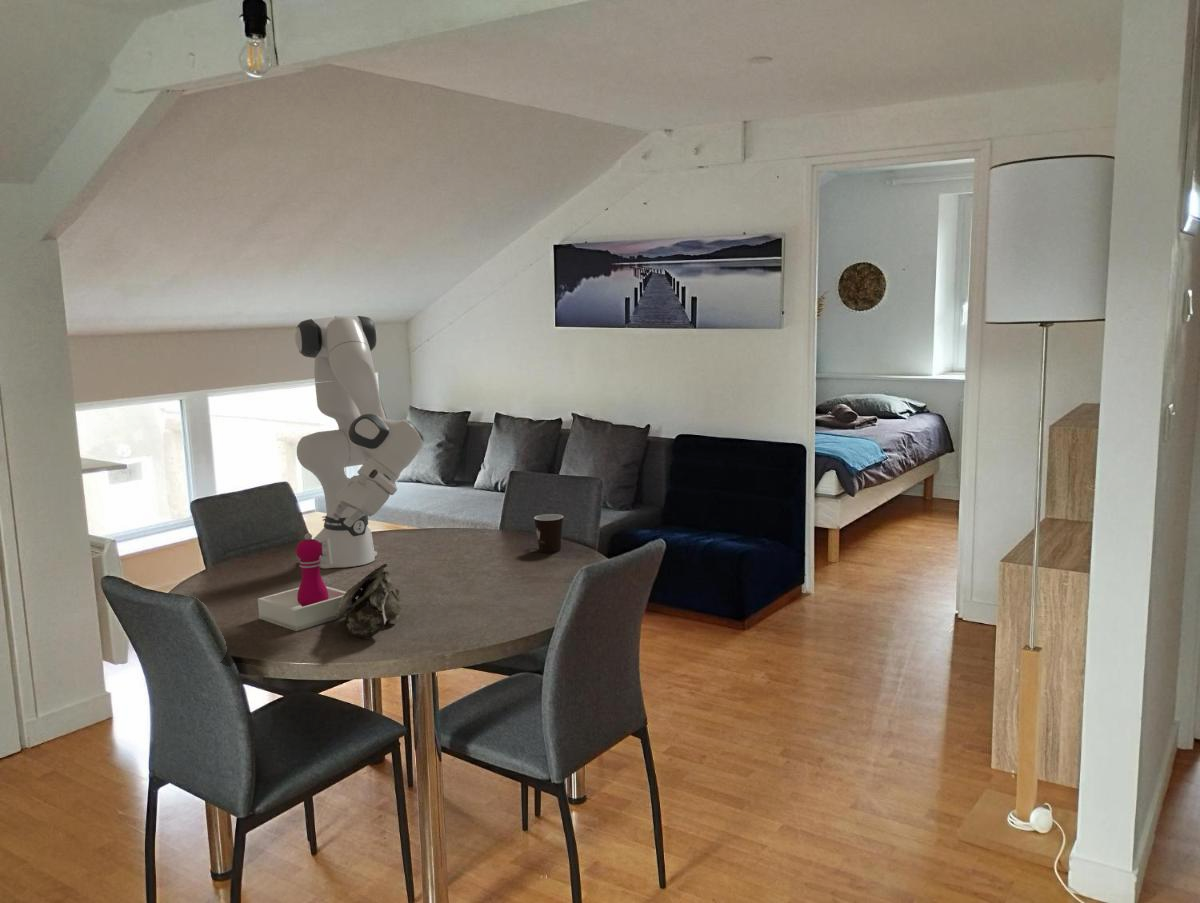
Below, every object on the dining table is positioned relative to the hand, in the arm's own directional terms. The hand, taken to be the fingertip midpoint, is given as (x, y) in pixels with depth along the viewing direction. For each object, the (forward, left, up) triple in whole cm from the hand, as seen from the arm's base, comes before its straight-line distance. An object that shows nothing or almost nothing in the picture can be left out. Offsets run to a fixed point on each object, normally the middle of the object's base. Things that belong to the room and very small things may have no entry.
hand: (339, 521), depth 244 cm
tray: (-3, -9, -22) cm, 24 cm away
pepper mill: (+1, -9, -21) cm, 23 cm away
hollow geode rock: (+17, -5, -22) cm, 28 cm away
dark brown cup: (+1, +72, -22) cm, 75 cm away
